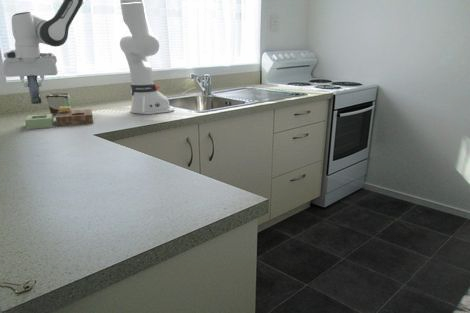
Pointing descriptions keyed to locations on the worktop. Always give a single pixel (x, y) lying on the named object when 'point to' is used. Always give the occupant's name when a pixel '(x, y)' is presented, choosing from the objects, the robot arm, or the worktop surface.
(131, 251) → the worktop surface
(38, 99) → the peg
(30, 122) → the square ring
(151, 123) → the worktop surface
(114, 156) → the worktop surface
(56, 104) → the food container
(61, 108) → the yellow square block
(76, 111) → the socket block
